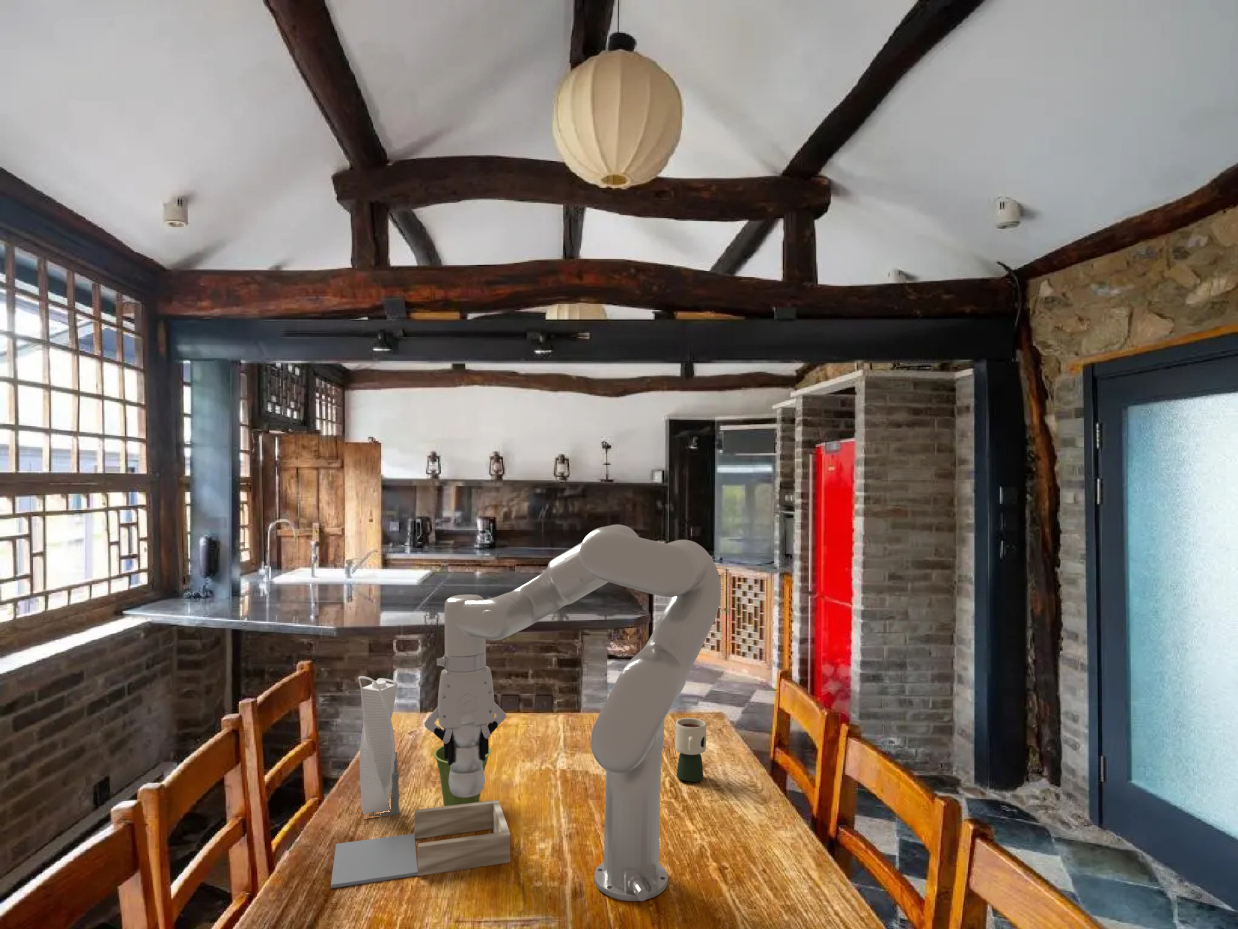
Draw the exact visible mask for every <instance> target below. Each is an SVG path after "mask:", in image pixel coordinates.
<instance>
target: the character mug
mask: <svg viewBox="0 0 1238 929" xmlns="http://www.w3.org/2000/svg"><path fill="white" fill-rule="evenodd" d="M674 746H675V751H677V752H678V753H679V755H678V762H677V768H676V778H677V779H679V780H683V781H688V782H690V783H691V782H694V783H695V782H702V781H703V779H704V768H703V760H702V759H703V758H702V757H703V756H702V755H701V754H702V753H704V752H706V749H707V723H706V721H705V720H702V719H699V718H693V717H684V718H683V717H682V718H679V719H676V721H675V741H674Z"/></svg>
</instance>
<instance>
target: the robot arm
mask: <svg viewBox="0 0 1238 929" xmlns="http://www.w3.org/2000/svg"><path fill="white" fill-rule="evenodd" d="M608 583H611V584H613V585H618V586H621V587H626V588H629V589H632V590H636V591H639V592H644V593H646V594H650V595H654V596H658V597H659V596H660V597H665V598H669V600H668V603H667V605H666V606H665V607H664V610H662V611H663V612H661V615H660V617H659V620H658V622H657V624H656V626H655V627H654V630H653V632H652V634H651V635H650V637H649V639H648V641H647V643H646V644H645V646H644V647H643V648H642V649H641V650H640V651H638V652H637V653H636V655H634V656H632V658H631V659H630V660H629V661H628V662H627V663H626V665H625V666H624V667H623V668H622V670H621V672H620V673H619V675H618V677H617V679H616V681H615V684H614V685H613V687H612V689H611V691H610V693H609V694H608V697H607V699H606V700H605V702H604V704H603V707H602V708H601V711H600V713H599V714H598V716H597V719H596V720H595V723H594V725H593V727H592V730H591V734H590V748H591V753H592V755H593V757H594V759H595V761H596V762H597V763H598V765H599V766H600V767H601V768H603V769H604V770H606V771H605V787H604V788H605V790H604V791H605V793H604V794H605V795H604V832H603V833H604V834H603V835H604V837H603V840H604V842H603V847H604V848H603V861H602V862H601V863H599V865H598V866H597V867H596V869H595V871H594V884H595V886H596V888H598V890H599V891H601V893H603V894H605V895H606V896H608V897H610V898H613V899H616V900H619V901H625V902H639V901H640V902H645V901H647V900H650V899H652V898H655V897H657V896H659V895H660V894H662V893H663V891H665V889H666V888H667V885H668V878H669V877H668V876H669V875H668V872H667V870H666V868H665V867H664V866H663V865H662V864H660V863H659V862H660V825H661V824H660V823H661V822H660V820H661V819H660V817H661V816H660V815H661V813H660V812H661V809H660V808H661V781H662V779H661V774H662V773H661V772H662V770H661V769H662V760H663V759H662V758H663V749H664V748H663V746H664V739H665V738H664V737H665V718H666V717H667V715H668V713H669V711H670V710H671V709H672V708H671V707H672V706H673V704H674V702H675V701H676V700H677V698H678V697H679V695H681V692H682V691H683V689H684V687H685V686H686V683H687V680H688V677H689V674H690V672H691V670H692V668H693V666H694V664H695V662H696V660H697V658H698V656H699V654H700V652H701V651H702V648H703V646H704V643H705V642H706V640H707V638H708V635H709V633H710V631H711V629H712V627H713V625H714V623H715V620H716V618H717V615H718V611H719V609H720V604H721V596H722V586H721V585H722V584H721V578H720V574H719V570H718V568H717V565H716V563H715V562H714V560H713V558H712V556H711V555H710V554H709V552H708V551H707V550H706V548H704V547H703V546H701V545H700V544H699V543H697V542H695V541H692V540H690V539H689V540H688V539H677V540H674V541H670V542H668V543H665V542H659V541H656V540H651V539H647V538H643V537H640V536H639V535H638V534H637V533H636V532H635V530H633V529H632V528H631V527H629V526H627V525H623V524H610V525H606V526H601V527H598V528H595V529H593V530H592V531H590V532H589V533H588V534H587V535H585V537H584V539H582V542H580V543H578V544H577V545H575V546H573V547H572V548H570V549H568V550H566V551H564V552H563V553H562V554H560V555H558V556H556V557H554V558H553V559H551V560H550V561H549V562H548V565H547V567H546V569H545V570H544V571H543V572H541V573H540V574H538V575H537V576H536V577H534V578H533V579H531V580H529V581H528V582H526V583H524V584H522V585H521V586H520V587H517V588H515V589H514V590H512V591H509V592H505V593H503V594H501V595H498V596H495V597H491V598H488V599H484V597H483V596H481V595H479V594H457V595H453V596H450V597H449V598H447V599H446V600H445V601H444V654H443V656H442V657H438V658H436V666H437V667H438V666H441V667H443V668H444V669H442V670H441V672H440V677H439V678H440V679H439V686H438V691H437V692H438V696H437V706H436V708H435V709H434V710H433V711H432V712H431V714H430V715H429V716H428V718H426V720H425V721H424V723H423V724H424V727H425V729H426V730H428V731H430V732H431V733H433V734H434V735H435V736H436V737H437V738H438V739H439V740H441V741H442V743H443V745H444V759H447V761H448V765H451V764H453V759H452V742H451V734H452V729H454V728H459V727H462V725H461V719H462V718H463V717H464V716H465V715H464V714H466V715H468V714H470V713H472V714H470V715H472V716H474V717H475V718H476V720H475V724H474V725H477V726H480V725H482V727H481V729H482V733H481V760H482V761H485V754H489V747H490V746H489V745H490V744H489V743H490V742H489V741H490V740H489V739H490V737H491V735H492V734H493V732H495V731H496V729H497V728H498V727H499V725H500V724H501V723H503V722H504V720H506V718H507V714H506V712H505V711H504V710H503V709H502V708H501V707H500V706H499V705H498V704H497V703H496V702H495V695H494V694H495V693H494V691H495V690H494V682H493V681H494V680H493V677H492V676H493V675H492V671H491V668H490V667H489V666H487V652H486V651H487V649H486V648H487V646H486V645H487V644H486V643H487V642H486V641H487V640H489V641H501V640H504V639H506V638H509V637H510V636H512V635H514V634H516V633H518V632H520V631H522V630H524V629H527V628H528V627H531V626H532V625H534V624H535V623H537V622H539V621H541V620H542V619H544V618H546V617H547V616H549V615H552V613H554V612H556V611H558V610H560V609H562V608H563V607H566V606H568V605H571V604H573V603H575V602H577V601H578V600H580V599H581V598H584V597H585V596H587V595H589V594H590V593H592V592H594V591H596V590H597V589H599V588H601V587H603V586H604V585H606V584H608ZM495 715H496V716H495ZM437 720H438V724H439V725H437V724H436V721H437Z"/></svg>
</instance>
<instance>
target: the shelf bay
mask: <svg viewBox="0 0 1238 929" xmlns="http://www.w3.org/2000/svg"><path fill="white" fill-rule="evenodd" d="M502 809H503V808H502V806H501V804H500V800H499V799H494V800H493V799H492V800H484V801H479V802H475V803H467V804H459V805H451V806H444V805H443V806H434V807H427V808H419V809H415V810H414V831H413V832H414V833H413V834H414V835H415V840H417V839H418V840H419V839H425V838H426V839H427V838H433V837H439V836H449V835H454V834H455V835H456V834H462V833H463V834H464V833H470V832H478V831H484V830H492V831H493V833H486V834H485V833H484V834H479V835H478V834H477V835H471V836H465V837H458V838H457V837H455V838H448V839H441V840H434V841H427V842H426V841H425V842H419V843H417V870H418V875H417V876H418V877H420V876H426V875H428V876H429V875H433V874H434V875H435V874H442V873H447V872H452V871H453V872H454V871H461V870H468V869H474V868H475V869H476V868H480V867H481V866H482V867H488V866H493V865H495V866H496V865H499V864H500V865H501V864H507V863H511V832H510V829H509V826H508V823H507V821H506V818H505V814H504V812H503V810H502Z"/></svg>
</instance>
